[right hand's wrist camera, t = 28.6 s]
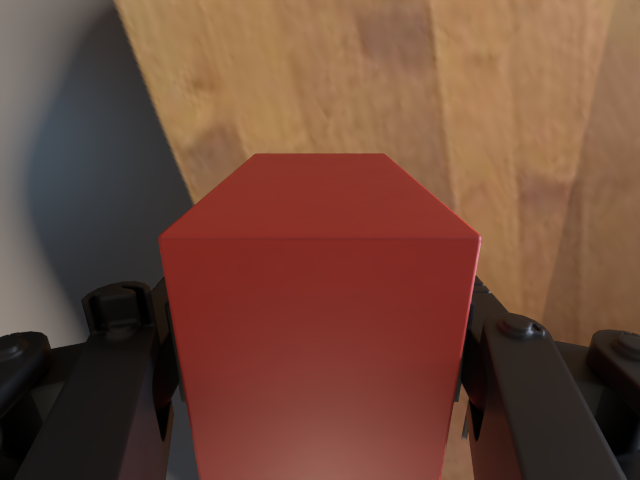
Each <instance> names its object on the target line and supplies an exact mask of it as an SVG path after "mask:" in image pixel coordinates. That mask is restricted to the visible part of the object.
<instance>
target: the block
mask: <svg viewBox="0 0 640 480" xmlns="http://www.w3.org/2000/svg"><path fill="white" fill-rule="evenodd" d="M158 241H159V247H160V253H161V258H162V264H163V270H164V275H165V282H166V287H167V293H168V299H169V305H170V311H171V316H172V322H173V328H174V334H175V340H176V345H177V351H178V357H179V363H180V369H181V374H182V380H183V386H184V392H185V398H186V403H187V409H188V415H189V421H190V427H191V432H192V438H193V444H194V450H195V455H196V461H197V467H198V473H199V479H200V480H440V479H441V473H442V467H443V462H444V456H445V450H446V444H447V438H448V432H449V427H450V421H451V415H452V409H453V403H454V397H455V392H456V386H457V380H458V374H459V368H460V362H461V357H462V351H463V345H464V339H465V333H466V327H467V322H468V316H469V310H470V304H471V298H472V292H473V287H474V281H475V275H476V269H477V263H478V257H479V252H480V246H481V236H480V234H479V233H477V232H476V231H475V230H474V229H473V228H471V227H470V226H469V225H468V224H467V223H466V222H464V221H463V220H462V219H461V218H460V217H459V216H457V215H456V214H455V213H454V212H453V211H451V210H450V209H449V208H448V207H447V206H446V205H444V204H443V203H442V202H441V201H440V200H439V199H437V198H436V197H435V196H434V195H433V194H431V193H430V192H429V191H428V190H427V189H426V188H424V187H423V186H422V185H421V184H420V183H418V182H417V181H416V180H415V179H414V178H413V177H411V176H410V175H409V174H408V173H407V172H406V171H404V170H403V169H402V168H401V167H400V166H398V165H397V164H396V163H395V162H394V161H393V160H391V159H390V158H389V157H388V156H387V155H386V154H254V155H253V156H252V157H251V158H250V159H248V160H247V161H246V162H245V163H244V164H243V165H241V166H240V167H239V168H238V169H237V170H236V171H234V172H233V173H232V174H231V175H230V176H228V177H227V178H226V179H225V180H224V181H223V182H221V183H220V184H219V185H218V186H217V187H216V188H214V189H213V190H212V191H211V192H210V193H208V194H207V195H206V196H205V197H204V198H203V199H201V200H200V201H199V202H198V203H197V204H196V205H194V206H193V207H192V208H191V209H190V210H189V211H187V212H186V213H185V214H184V215H183V216H181V217H180V218H179V219H178V220H177V221H176V222H174V223H173V224H172V225H171V226H170V227H169V228H167V229H166V230H165V231H164V232H163V233H161V234H160V235H159V239H158Z"/></svg>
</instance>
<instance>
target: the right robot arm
mask: <svg viewBox="0 0 640 480" xmlns="http://www.w3.org/2000/svg"><path fill="white" fill-rule="evenodd" d="M81 301H82V305H83V309H84V312H85V316H86V320H87V323H88V327H89V331H90V336H89V337H88V339H87V341H86V342H84V343H80V344H75V345H69V346H64V347H59V348H54V349H51V347H50V344H49V341H48V338H47V336H46V335H44V334H43V333H41V332H32V331H30V332H21V333H19V332H18V333H13V334H10V335H5V336H2V337H0V480H166V473H167V465H168V457H169V449H170V441H171V433H172V426H173V418H174V412H173V406H172V400H171V398H172V396H173V394H174V392H175V390H176V388H177V386H178V384H179V390H180V395H181V401H182V402H186V398H185V392H184V386H183V380H182V374H181V369H180V363H179V357H178V351H177V345H176V340H175V334H174V328H173V322H172V316H171V311H170V305H169V299H168V293H167V287H166V282H165V276H164V277H163V278H162V279H161V281H160V282H159V283H158V284H157V285H156V287H154V289H153V290H152V291H150V287H149V286H148V285H146V284H145V283H141V282H136V281H132V282H120V283H114V284H110V285H107V286H104V287H101V288H98V289H96V290H94V291H92V292H91V293H89V294H87V295H86V296H85V297H84V298H83V299H82V300H81ZM461 383H462V384H463V386H464V388H465V390H466V392H467V394H468V396H469V400H468V406H467V411H466V416H465V421H464V427H463V432H462V438H461V439H466V440H467V435H468V433H469V440H470V448H471V456H472V464H473V472H474V480H640V335H638V334H634V333H632V334H631V333H630V332H627V331H617V330H602V331H598V332H596V333H595V334H593V337H592V340H591V343H590V346H589V347H585V346H580V345H574V344H569V343H563V342H558V341H554V340H553V339H552V337H551V335H550V333H549V332H548V331H547V330H546V329H545V327H544V326H542V325H541V324H539V323H538V322H536V321H534V320H532V319H530V318H527V317H525V316H522V315H518V314H513V313H509V312H508V311H507V310H506V309H505V308H504V307H503V305H502V304H501V303H500V302H499V301H498V300H497V299H496V297H495V296H494V295H493V294H492V293H490V291H489V290H488V288H487V287H486V286H484V284H483V283H482V282H481V280H480V279H479V278H478V277H477V276H476V275H475V281H474V287H473V292H472V298H471V304H470V310H469V316H468V322H467V327H466V333H465V339H464V345H463V351H462V357H461V362H460V368H459V374H458V380H457V386H456V392H455V397H454V402H458V400H459V394H460V388H461Z"/></svg>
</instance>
